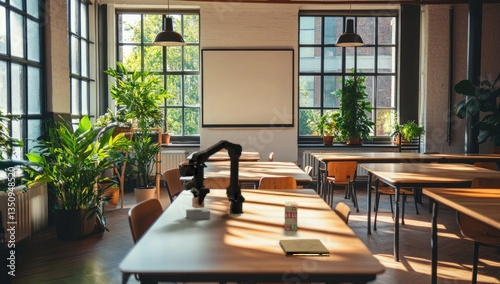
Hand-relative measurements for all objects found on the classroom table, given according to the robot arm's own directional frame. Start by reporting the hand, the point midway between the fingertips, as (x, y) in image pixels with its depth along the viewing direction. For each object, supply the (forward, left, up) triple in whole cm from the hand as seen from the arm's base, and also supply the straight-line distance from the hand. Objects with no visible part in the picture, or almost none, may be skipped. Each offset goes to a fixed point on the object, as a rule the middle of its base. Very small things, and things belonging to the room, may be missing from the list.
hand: (198, 204), depth 269 cm
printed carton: (-35, +39, -7) cm, 53 cm away
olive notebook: (-15, +80, -8) cm, 82 cm away
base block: (0, 0, -7) cm, 7 cm away
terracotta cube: (0, 0, -1) cm, 1 cm away
